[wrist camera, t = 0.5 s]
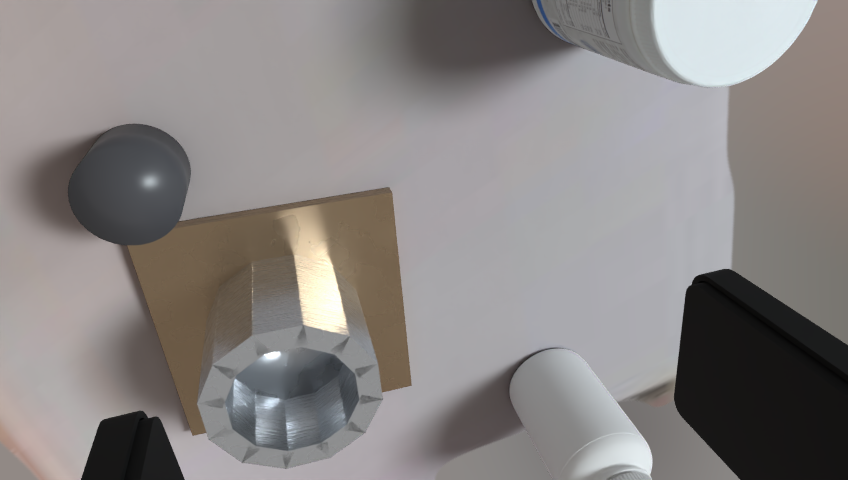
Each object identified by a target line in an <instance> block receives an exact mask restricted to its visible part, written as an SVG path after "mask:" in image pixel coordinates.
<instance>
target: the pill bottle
mask: <svg viewBox="0 0 848 480" xmlns="http://www.w3.org/2000/svg"><path fill="white" fill-rule="evenodd" d="M509 394H510V399H511V402H512V405H513V407H514V409H515V411H516V413H517V415H518V416H519V418H520V420H521V422H522V424H523V426H524V428H525V429H526V431H527V433H528V435H529V437H530V438H531V440H532V442H533V444H534V446H535V448H536V450H537V452H538V453H539V455H540V457H541V459H542V461H543V463H544V464H545V466H546V468H547V470H548V472H549V474H550V476H551V478H552V479H553V480H652V478H651V476H650V473H651V469H652V455H651V451H650V448H649V446H648V444H647V442H646V441H645V439H644V438H643V436H642V435H641V434H640V432H639V431H638V430H637V429H636V427H635V426H634V425H633V423H632V422H631V421H630V419H629V418H628V417H627V415H626V414H625V413H624V411H623V410H622V409H621V407H620V406H619V405H618V404H617V402H616V401H615V400H614V398H613V397H612V396H611V394H610V393H609V392H608V390H607V389H606V388H605V386H604V385H603V384H602V382H601V381H600V380H599V379H598V377H597V376H596V375H595V373H594V372H593V371H592V369H591V368H590V367H589V365H588V364H587V363H586V362H585V360H583V358H582V357H581V356H579V355H578V354H577V353H575V352H573V351H571V350H567V349H561V348H555V349H549V350H545V351H542V352H539V353H537V354H535V355H533V356H532V357H530V358H529V359H527V360H526V361H525V362H524V363H523V364H522V365H521V366H520V367H519V368H518V369H517V371H516V372H515V374H514V375H513V377H512V380H511V383H510V388H509Z"/></svg>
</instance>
